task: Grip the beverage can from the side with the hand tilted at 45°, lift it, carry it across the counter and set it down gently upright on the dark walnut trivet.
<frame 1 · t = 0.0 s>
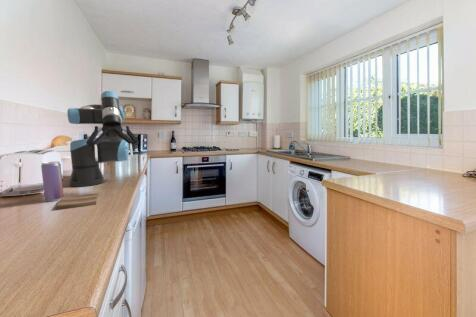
hand: (114, 158, 100), 15 cm above the countertop, tool tilted 35°, fingers open, 13 cm apart
beverage can: (54, 199, 93), on the countertop
walnut trivet: (78, 202, 89), on the countertop
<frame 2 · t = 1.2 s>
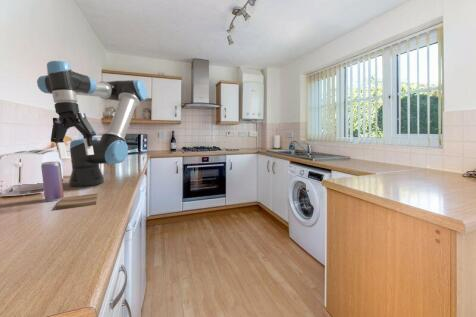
hand: (76, 156, 93), 17 cm above the countertop, tool pointing down, fingers open, 13 cm apart
nothing on the countertop moved.
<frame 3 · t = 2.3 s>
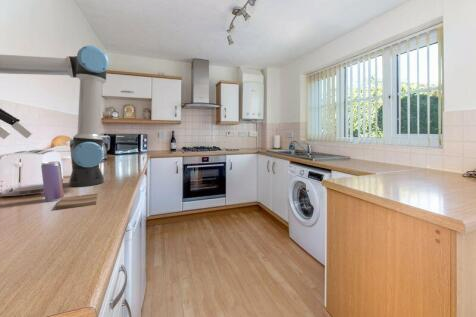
hand: (19, 136, 87), 25 cm above the countertop, tool tilted 45°, fingers open, 13 cm apart
nothing on the countertop moved.
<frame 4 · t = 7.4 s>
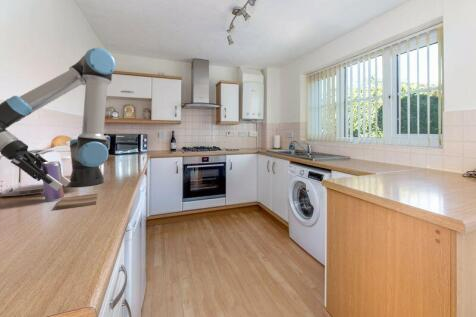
hand: (63, 185, 93), 5 cm above the countertop, tool tilted 45°, fingers closed on beverage can, 6 cm apart
beverage can: (54, 199, 93), on the countertop, touching gripper
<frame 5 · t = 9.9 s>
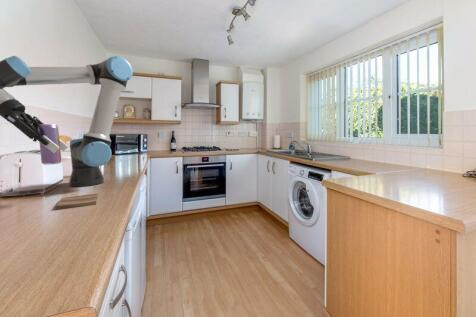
hand: (61, 149, 90), 20 cm above the countertop, tool tilted 45°, fingers closed on beverage can, 6 cm apart
beverage can: (51, 164, 89), point 15 cm above the countertop, touching gripper
when the fingers open (8 cm above the countertop, at t = 12.7 s): beverage can drops 1 cm, resting on walnut trivet.
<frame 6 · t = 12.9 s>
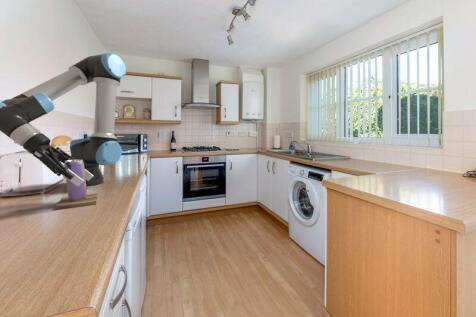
hand: (86, 180, 88), 8 cm above the countertop, tool tilted 45°, fingers open, 9 cm apart
beverage can: (78, 199, 88), point 1 cm above the countertop, touching walnut trivet
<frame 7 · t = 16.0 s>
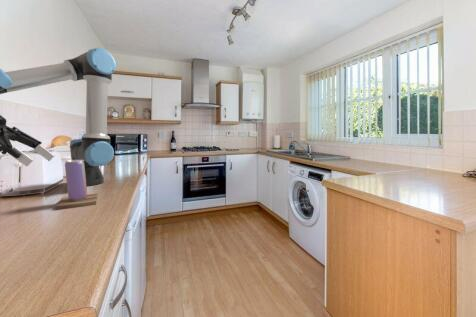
hand: (41, 160, 84), 17 cm above the countertop, tool tilted 45°, fingers open, 13 cm apart
nothing on the countertop moved.
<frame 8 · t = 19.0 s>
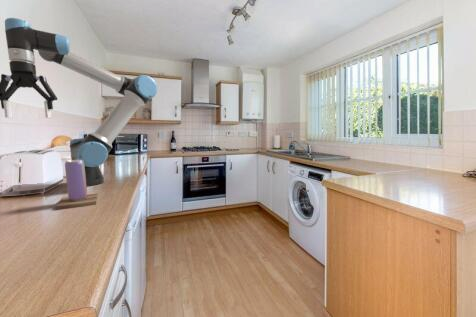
hand: (29, 117, 94), 33 cm above the countertop, tool pointing down, fingers open, 13 cm apart
nothing on the countertop moved.
at the end: beverage can inside the target area on the walnut trivet (0.1 cm from its centre), point 1.0 cm above the walnut trivet's base; beverage can tilted 0°; the gripper is holding nothing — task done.
